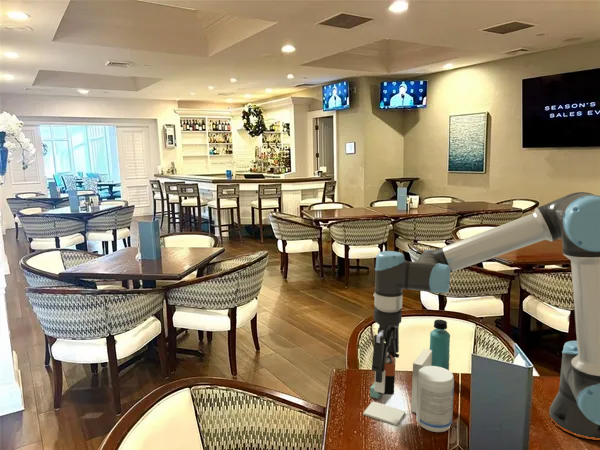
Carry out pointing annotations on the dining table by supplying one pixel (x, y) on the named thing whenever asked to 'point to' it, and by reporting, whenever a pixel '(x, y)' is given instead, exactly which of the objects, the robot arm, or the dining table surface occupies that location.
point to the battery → (389, 375)
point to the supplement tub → (435, 398)
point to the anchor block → (374, 392)
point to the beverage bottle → (440, 344)
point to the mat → (384, 413)
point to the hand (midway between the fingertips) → (384, 384)
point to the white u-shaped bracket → (420, 362)
